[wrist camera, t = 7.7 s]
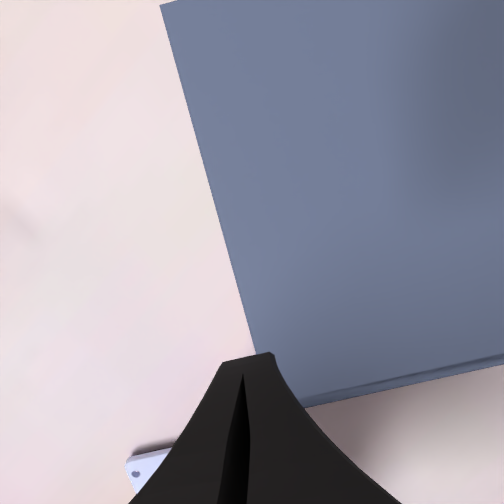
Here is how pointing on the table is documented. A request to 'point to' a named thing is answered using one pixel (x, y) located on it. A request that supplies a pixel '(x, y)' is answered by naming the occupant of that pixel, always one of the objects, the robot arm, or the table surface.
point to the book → (355, 180)
